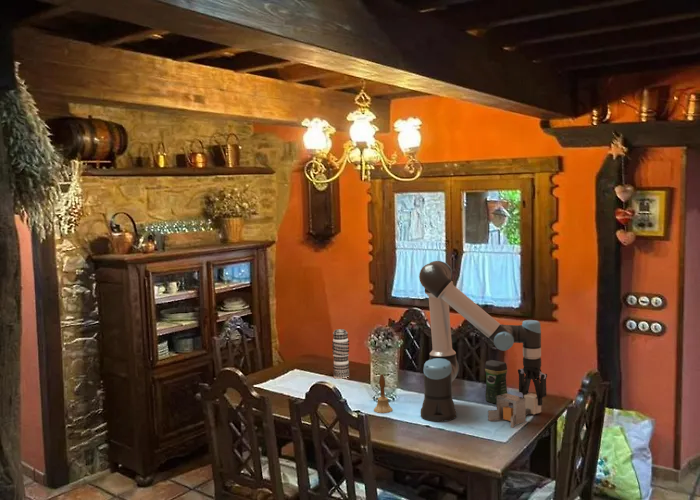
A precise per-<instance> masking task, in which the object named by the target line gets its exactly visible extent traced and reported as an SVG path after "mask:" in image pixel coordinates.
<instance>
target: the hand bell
mask: <svg viewBox="0 0 700 500" xmlns="http://www.w3.org/2000/svg"><path fill="white" fill-rule="evenodd" d="M379 375H380V376H379V380H378V381H379V382H378V383H379V387H380V396H379V397H377V404H376V406H375V407H374V408H373V411H374V412H375V413H377V414H388V413H392V412H393V407H392V406H391V405H390V404H389V403H390V402H389V398H388V397H387V396H386V395H385V386H386V379H385V376H384V374H383V373H382V374H379Z"/></svg>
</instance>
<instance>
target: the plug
mask: <svg viewBox="0 0 700 500" xmlns="http://www.w3.org/2000/svg"><path fill="white" fill-rule="evenodd" d="M536 397H537V395H536V393H528V394H527V395H524V398H525V402H526V416H527V415H536V414H537V413H536V409H535V398H536ZM512 415H513V407H510V406H509V407H507V406H505V407H503V419H502V420H506V421H509V422H511V416H512Z"/></svg>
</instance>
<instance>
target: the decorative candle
mask: <svg viewBox="0 0 700 500" xmlns="http://www.w3.org/2000/svg"><path fill="white" fill-rule="evenodd" d="M348 333H349V332H348V331H347V330H345V329H343V328H339V329H335V330H334V331H333V332H332V334H333V338H332V341H331V343H332V344H331V346H332V347H331V349H332V356H333V364H332V366H333V370H332V371H333V373H332V374H333V378H334V379H336V378H337V380H343V379H342V378H346V379H348V378H347V377H349V376H350V362H349V356H350V354H349V352H350V340H349V337H348V335H349V334H348ZM349 378H350V377H349Z"/></svg>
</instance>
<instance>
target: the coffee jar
mask: <svg viewBox="0 0 700 500" xmlns="http://www.w3.org/2000/svg"><path fill="white" fill-rule="evenodd" d="M484 371H485V378H486V380H485V397H484V398H485V399H484V400H485V401H486V402H489V403H493V404H495V405H497V396H498V395H502V394H505V393H507V394H508V389H507V388H508V387H507V373H508V365H507V363H506V362H505V361H498V360H493V359H490V360H486V362H485V363H484Z"/></svg>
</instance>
